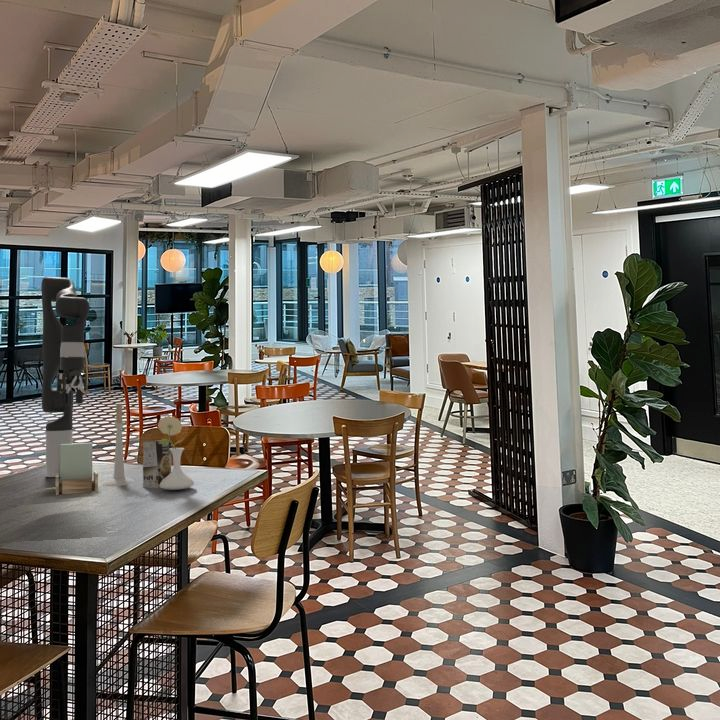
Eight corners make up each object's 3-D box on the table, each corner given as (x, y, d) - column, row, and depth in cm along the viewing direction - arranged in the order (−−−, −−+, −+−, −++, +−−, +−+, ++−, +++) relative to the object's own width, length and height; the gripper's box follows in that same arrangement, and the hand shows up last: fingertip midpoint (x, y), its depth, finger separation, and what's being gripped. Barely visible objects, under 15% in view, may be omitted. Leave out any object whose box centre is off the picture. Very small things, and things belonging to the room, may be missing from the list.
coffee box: (159, 488, 216) (159, 441, 217) (142, 488, 217) (142, 441, 218) (172, 484, 225) (172, 439, 226) (156, 484, 226) (155, 439, 227)
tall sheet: (60, 491, 214) (60, 444, 215) (91, 488, 219) (91, 442, 220) (60, 492, 212) (60, 444, 213) (92, 489, 216) (92, 443, 217)
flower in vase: (200, 487, 216) (200, 414, 218) (182, 492, 205) (182, 415, 207) (167, 486, 220) (167, 415, 221) (148, 491, 209) (147, 416, 210)
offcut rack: (55, 490, 215) (55, 473, 215) (95, 487, 221) (95, 470, 221) (55, 494, 206) (55, 476, 206) (97, 491, 211) (97, 473, 212)
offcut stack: (62, 493, 211) (62, 479, 211) (91, 490, 215) (91, 477, 215) (62, 494, 207) (62, 480, 207) (91, 492, 211) (91, 478, 211)
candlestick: (145, 484, 227) (144, 401, 229) (112, 489, 217) (112, 402, 219) (124, 482, 235) (124, 402, 236) (92, 486, 224) (93, 402, 226)
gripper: (73, 356, 218) (73, 403, 218) (49, 355, 204) (49, 405, 203) (94, 356, 217) (93, 403, 217) (71, 355, 203) (71, 405, 203)
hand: (72, 404), depth 210 cm, fingers open, 8 cm apart
